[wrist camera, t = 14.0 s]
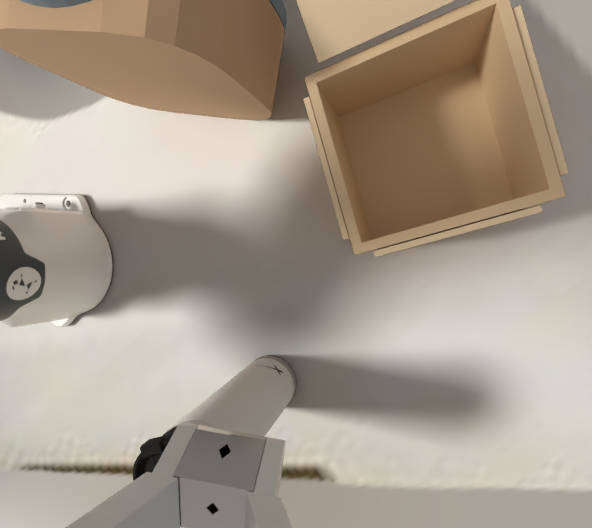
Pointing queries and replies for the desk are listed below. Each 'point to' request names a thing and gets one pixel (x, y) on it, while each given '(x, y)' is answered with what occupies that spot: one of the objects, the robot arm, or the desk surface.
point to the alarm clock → (157, 50)
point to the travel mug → (234, 407)
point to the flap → (356, 21)
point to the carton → (437, 131)
